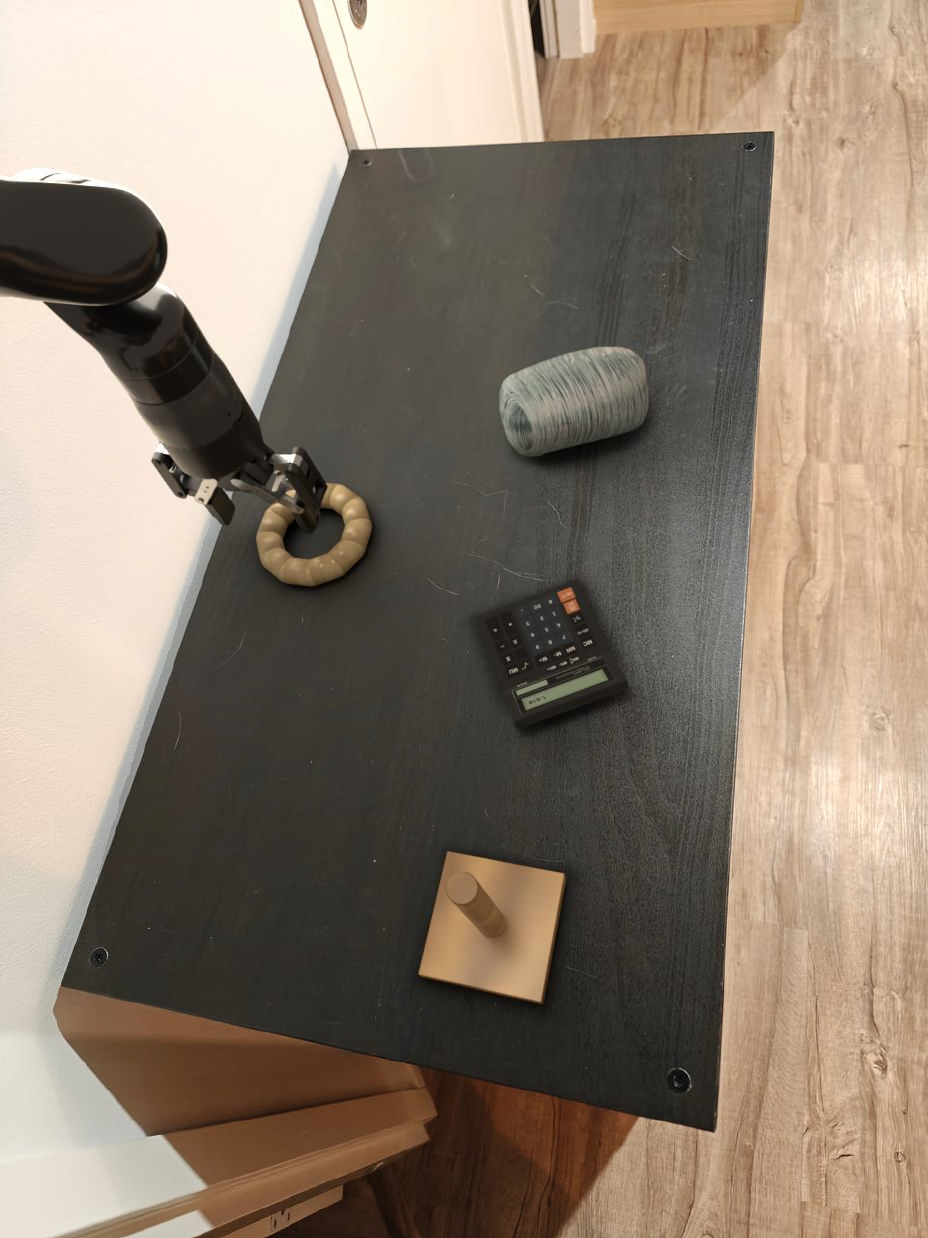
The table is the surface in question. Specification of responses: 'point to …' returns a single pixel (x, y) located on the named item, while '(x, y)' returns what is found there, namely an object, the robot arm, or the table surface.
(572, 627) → the calculator
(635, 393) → the spool
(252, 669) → the table surface
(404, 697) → the table surface
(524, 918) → the wooden peg stand
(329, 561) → the segmented beige ring
